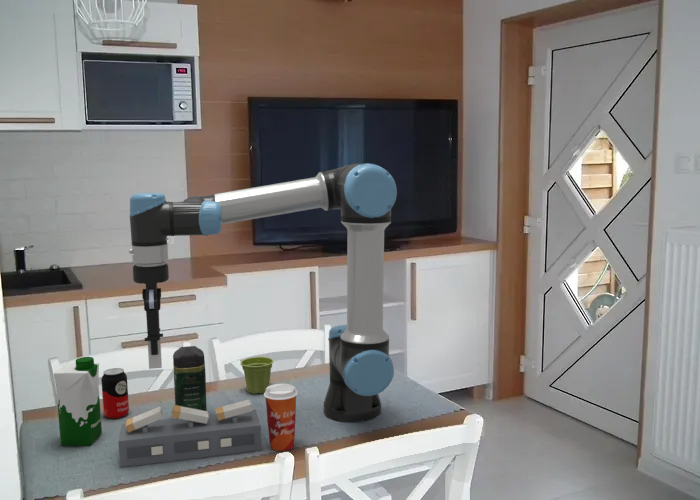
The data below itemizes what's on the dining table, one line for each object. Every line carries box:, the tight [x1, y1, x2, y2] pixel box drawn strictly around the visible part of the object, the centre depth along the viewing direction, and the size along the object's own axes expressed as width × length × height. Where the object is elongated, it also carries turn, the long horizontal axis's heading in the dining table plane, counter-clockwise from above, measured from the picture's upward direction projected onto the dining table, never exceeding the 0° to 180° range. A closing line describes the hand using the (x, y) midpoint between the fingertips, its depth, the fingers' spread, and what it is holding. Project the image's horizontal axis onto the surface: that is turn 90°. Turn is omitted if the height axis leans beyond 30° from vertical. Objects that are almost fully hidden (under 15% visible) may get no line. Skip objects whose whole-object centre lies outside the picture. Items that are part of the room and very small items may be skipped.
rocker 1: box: [125, 406, 164, 432], centre depth 156 cm, size 8×4×2 cm, turn 104°
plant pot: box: [239, 356, 275, 395], centre depth 197 cm, size 9×9×9 cm
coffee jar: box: [172, 345, 208, 411], centre depth 177 cm, size 10×8×19 cm
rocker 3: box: [215, 399, 253, 421], centre depth 161 cm, size 8×4×2 cm, turn 104°
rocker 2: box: [171, 404, 209, 424], centre depth 158 cm, size 8×4×2 cm, turn 105°
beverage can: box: [100, 367, 130, 420], centre depth 180 cm, size 6×6×12 cm
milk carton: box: [52, 356, 103, 447], centre depth 164 cm, size 9×9×20 cm
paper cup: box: [263, 383, 299, 452], centre depth 160 cm, size 8×8×14 cm
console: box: [117, 409, 263, 468], centre depth 159 cm, size 31×10×7 cm, turn 104°
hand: (155, 367), depth 155 cm, fingers closed
